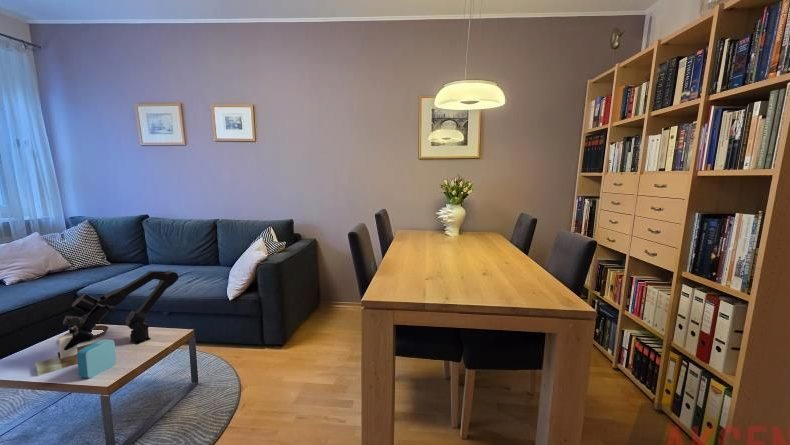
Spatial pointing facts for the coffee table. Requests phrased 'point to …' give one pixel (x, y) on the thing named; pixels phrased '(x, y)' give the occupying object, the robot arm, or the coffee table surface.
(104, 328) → the plant saucer
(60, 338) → the cream block
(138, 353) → the coffee table surface
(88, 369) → the data package
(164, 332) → the coffee table surface
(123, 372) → the coffee table surface
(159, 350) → the coffee table surface
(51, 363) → the walnut channel
